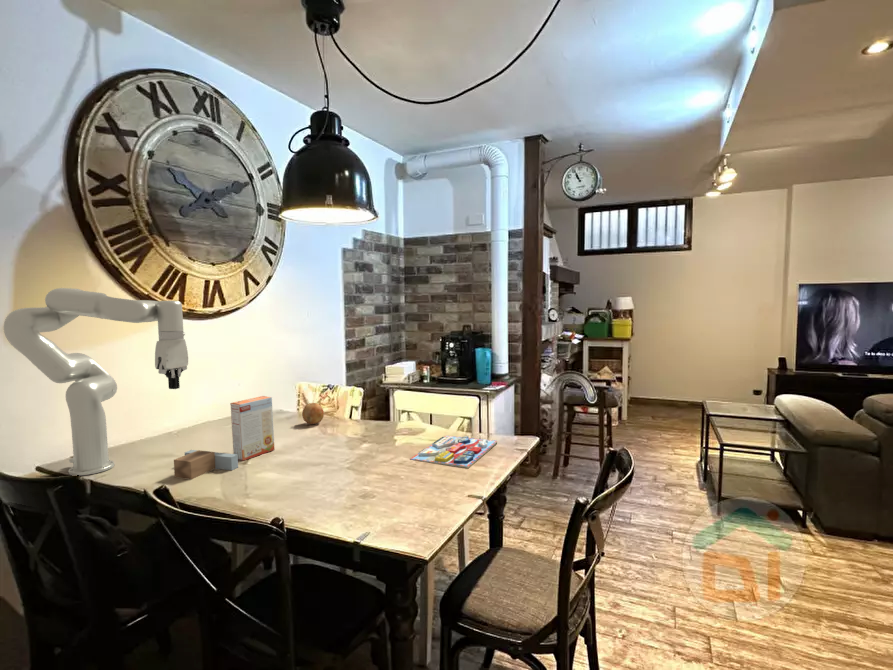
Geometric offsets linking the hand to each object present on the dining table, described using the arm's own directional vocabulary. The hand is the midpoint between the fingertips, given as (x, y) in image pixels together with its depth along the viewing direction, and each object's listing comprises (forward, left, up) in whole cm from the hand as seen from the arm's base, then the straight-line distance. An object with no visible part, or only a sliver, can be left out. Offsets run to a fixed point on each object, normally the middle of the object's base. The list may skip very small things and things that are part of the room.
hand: (174, 388), depth 163 cm
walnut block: (+13, -5, -27) cm, 30 cm away
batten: (+13, +2, -27) cm, 30 cm away
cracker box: (+19, +16, -27) cm, 37 cm away
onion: (+16, +60, -27) cm, 68 cm away
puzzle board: (+91, +39, -28) cm, 103 cm away
